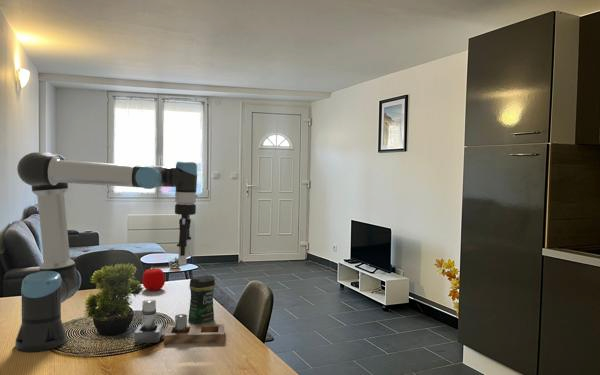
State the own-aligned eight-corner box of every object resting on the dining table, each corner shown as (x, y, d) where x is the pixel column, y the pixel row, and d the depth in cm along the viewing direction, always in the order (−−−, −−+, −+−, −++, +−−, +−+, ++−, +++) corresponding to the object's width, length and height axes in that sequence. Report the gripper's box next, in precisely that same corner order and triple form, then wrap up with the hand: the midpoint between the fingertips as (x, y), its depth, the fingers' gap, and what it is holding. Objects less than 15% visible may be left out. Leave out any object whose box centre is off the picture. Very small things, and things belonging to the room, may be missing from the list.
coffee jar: (197, 328, 179) (198, 279, 178) (185, 323, 184) (185, 276, 183) (217, 322, 186) (218, 275, 185) (205, 317, 191) (206, 272, 191)
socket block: (134, 345, 160) (134, 332, 160) (138, 337, 168) (139, 324, 168) (158, 344, 162) (158, 332, 161) (162, 336, 169) (162, 324, 169)
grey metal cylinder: (140, 340, 162) (140, 303, 162) (142, 335, 167) (143, 299, 166) (154, 340, 163) (155, 303, 162) (156, 335, 168) (157, 299, 167)
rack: (163, 347, 160) (164, 335, 160) (167, 336, 170) (168, 325, 170) (223, 345, 163) (224, 334, 163) (224, 335, 173) (224, 324, 172)
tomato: (164, 292, 227) (165, 270, 227) (141, 293, 224) (142, 270, 224) (164, 286, 237) (165, 265, 237) (142, 287, 234) (142, 266, 234)
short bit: (174, 340, 163) (174, 317, 163) (175, 336, 167) (175, 314, 167) (186, 340, 164) (186, 317, 163) (187, 336, 168) (187, 313, 167)
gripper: (194, 206, 163) (192, 267, 164) (197, 201, 187) (195, 254, 188) (171, 206, 162) (169, 267, 162) (178, 200, 186) (176, 254, 187)
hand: (183, 260), depth 175 cm, fingers open, 13 cm apart
